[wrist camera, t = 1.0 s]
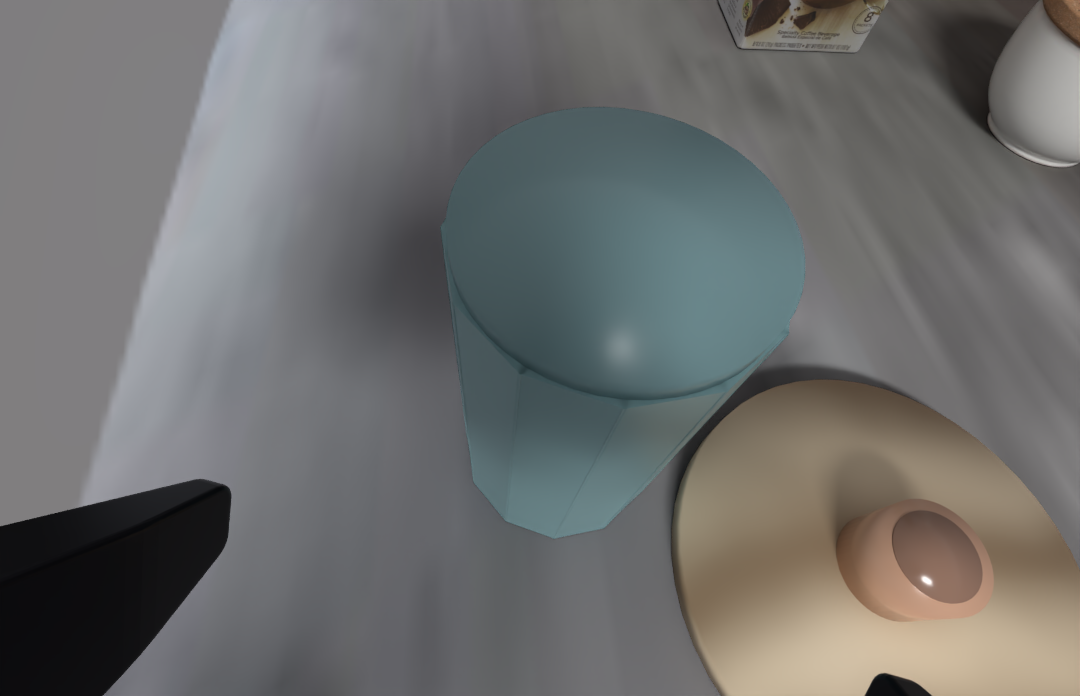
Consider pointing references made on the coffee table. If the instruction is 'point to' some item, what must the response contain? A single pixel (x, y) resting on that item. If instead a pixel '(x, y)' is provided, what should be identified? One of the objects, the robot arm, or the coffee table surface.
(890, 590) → the bowl
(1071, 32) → the lidded jar
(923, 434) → the oak plate
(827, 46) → the coffee box
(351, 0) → the coffee table surface
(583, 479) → the teal domed canister
